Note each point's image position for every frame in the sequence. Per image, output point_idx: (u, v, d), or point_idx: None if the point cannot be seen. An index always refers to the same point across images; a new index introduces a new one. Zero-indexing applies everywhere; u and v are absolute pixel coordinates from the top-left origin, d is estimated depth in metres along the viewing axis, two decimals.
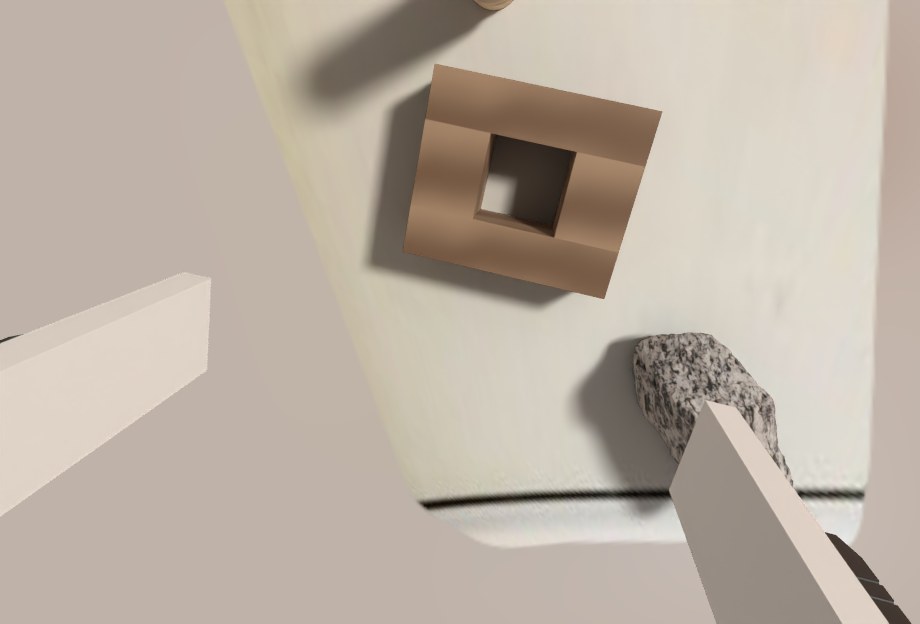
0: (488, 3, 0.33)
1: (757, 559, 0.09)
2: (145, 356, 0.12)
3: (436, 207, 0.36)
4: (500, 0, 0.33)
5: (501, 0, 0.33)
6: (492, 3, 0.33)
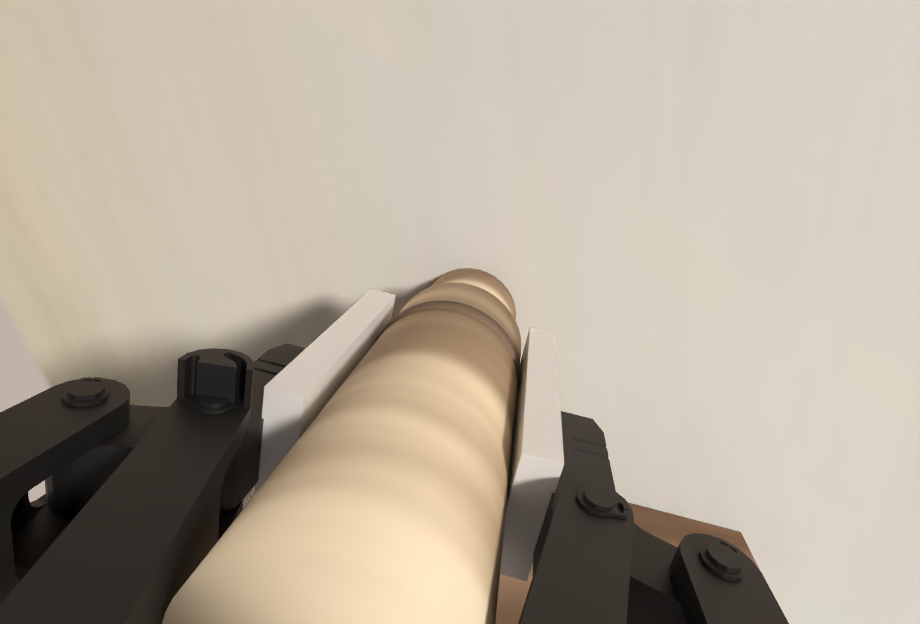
0: None
1: (515, 431, 0.12)
2: None
3: None
4: None
5: None
6: None
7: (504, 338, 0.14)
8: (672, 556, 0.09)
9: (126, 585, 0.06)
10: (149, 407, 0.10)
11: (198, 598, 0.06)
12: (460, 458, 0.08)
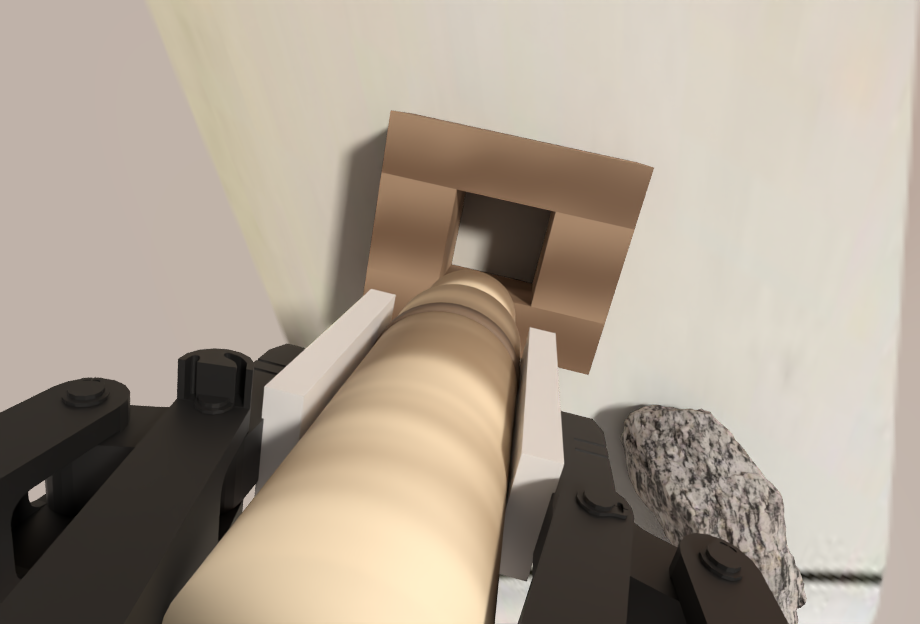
0: None
1: (515, 431, 0.12)
2: None
3: (396, 270, 0.31)
4: None
5: None
6: None
7: (503, 340, 0.14)
8: (672, 556, 0.09)
9: (126, 585, 0.06)
10: (149, 407, 0.10)
11: (196, 603, 0.06)
12: (458, 461, 0.08)
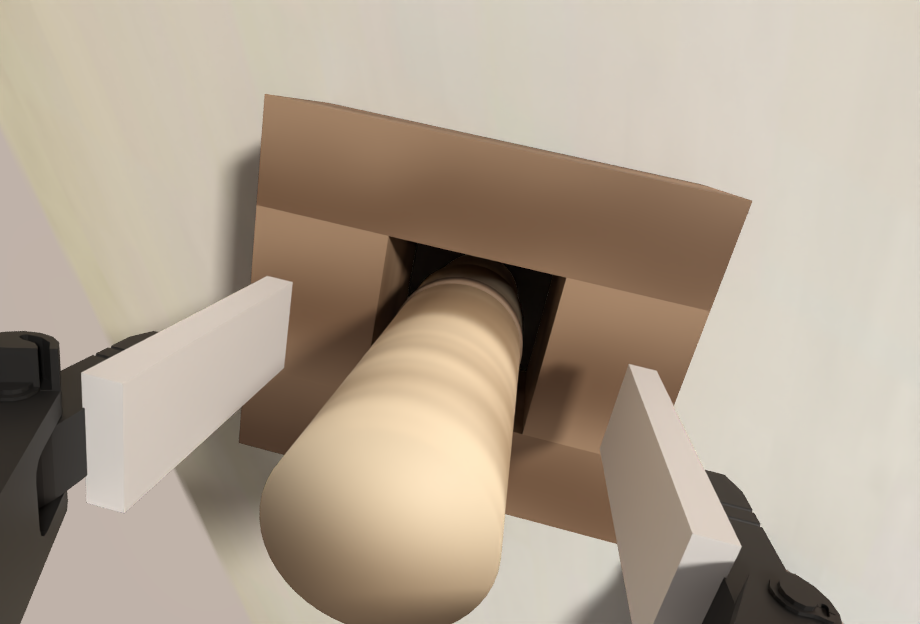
0: None
1: (647, 492, 0.11)
2: (243, 354, 0.13)
3: (293, 370, 0.18)
4: None
5: None
6: None
7: (508, 308, 0.16)
8: None
9: None
10: None
11: (292, 468, 0.09)
12: (477, 385, 0.11)
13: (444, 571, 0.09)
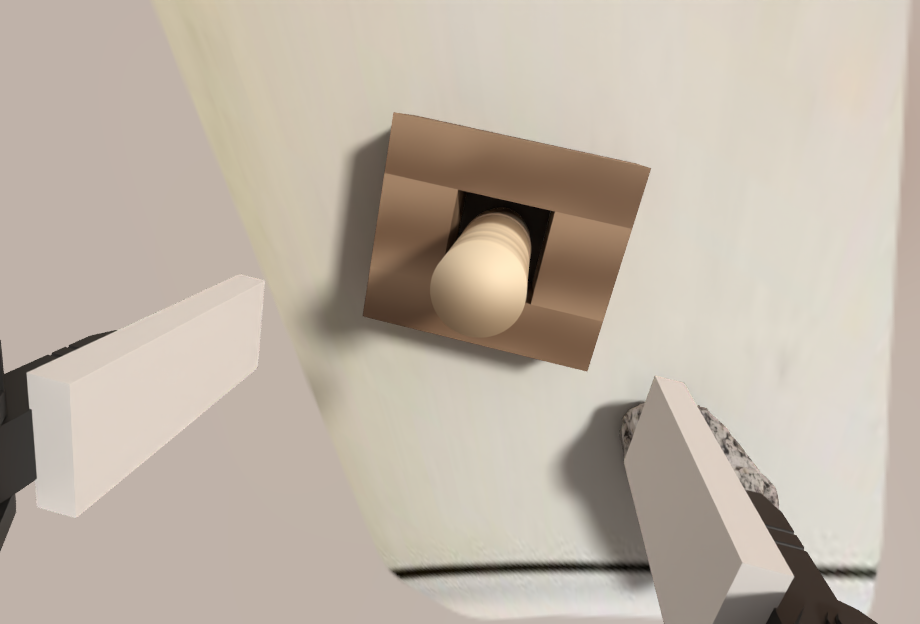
0: None
1: (684, 513, 0.10)
2: (210, 354, 0.13)
3: (399, 269, 0.32)
4: None
5: None
6: None
7: (524, 228, 0.30)
8: None
9: None
10: None
11: (445, 263, 0.22)
12: (513, 244, 0.24)
13: (504, 305, 0.22)
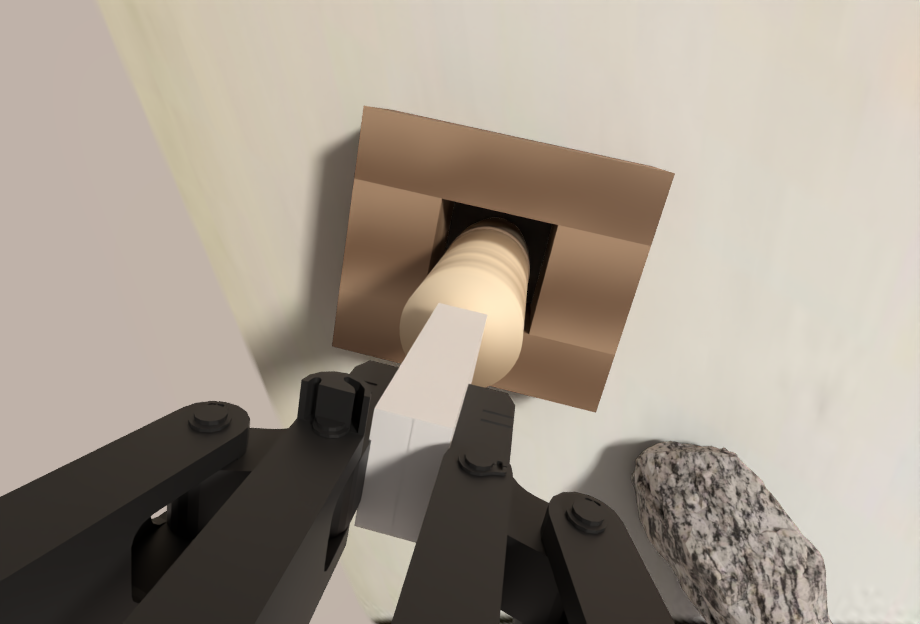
0: None
1: None
2: None
3: (373, 292, 0.27)
4: None
5: None
6: None
7: (520, 245, 0.25)
8: (543, 517, 0.09)
9: (241, 613, 0.06)
10: None
11: (419, 298, 0.17)
12: (507, 270, 0.19)
13: (494, 351, 0.17)
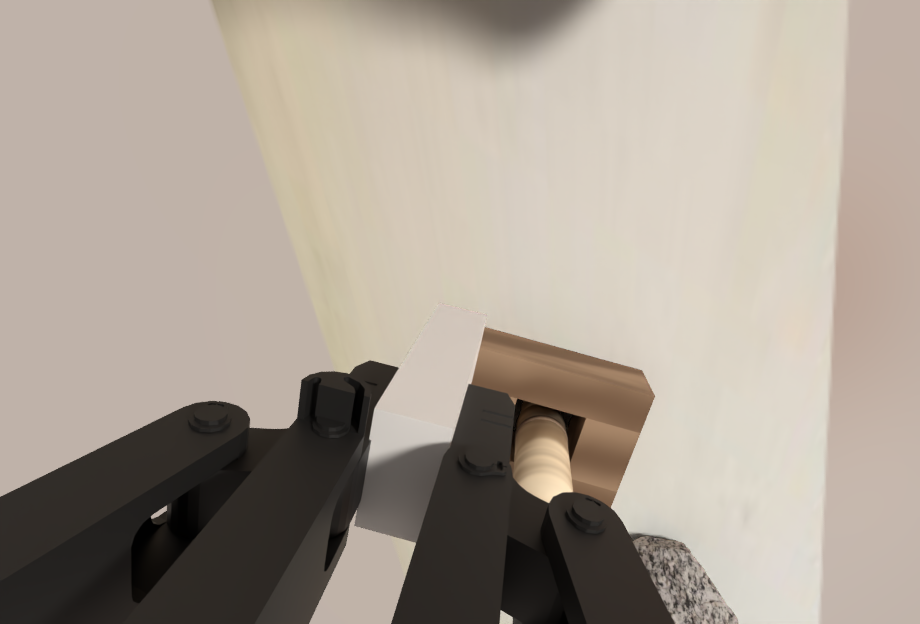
0: None
1: None
2: None
3: None
4: None
5: None
6: None
7: (563, 429, 0.42)
8: (543, 517, 0.09)
9: (240, 614, 0.06)
10: (262, 429, 0.10)
11: None
12: (564, 467, 0.36)
13: None
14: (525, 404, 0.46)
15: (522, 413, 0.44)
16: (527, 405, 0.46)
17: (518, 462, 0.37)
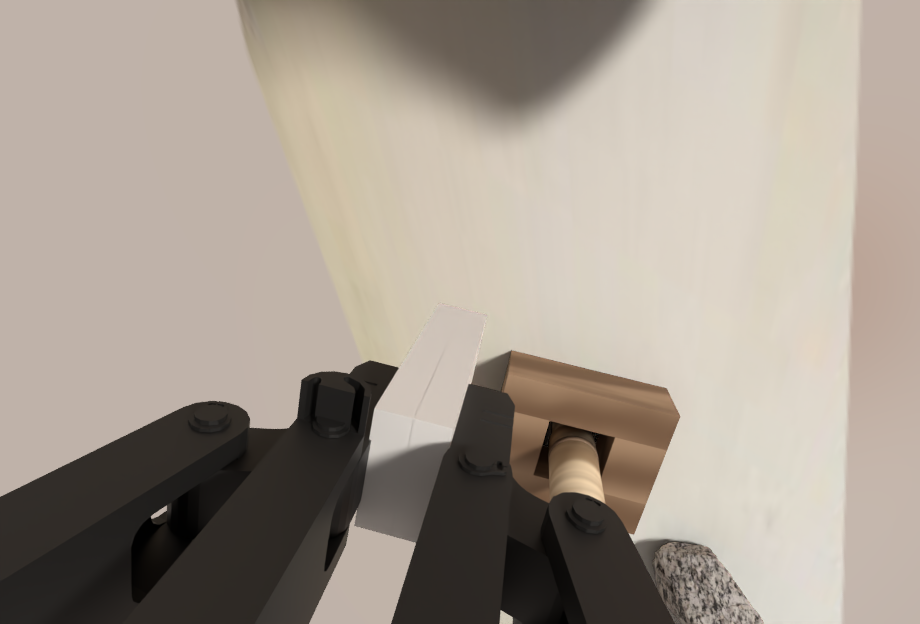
0: None
1: None
2: None
3: None
4: None
5: None
6: None
7: (594, 449, 0.44)
8: (543, 517, 0.09)
9: (241, 613, 0.06)
10: (261, 429, 0.10)
11: None
12: (597, 490, 0.39)
13: None
14: None
15: (554, 433, 0.47)
16: (557, 423, 0.48)
17: (554, 484, 0.40)
